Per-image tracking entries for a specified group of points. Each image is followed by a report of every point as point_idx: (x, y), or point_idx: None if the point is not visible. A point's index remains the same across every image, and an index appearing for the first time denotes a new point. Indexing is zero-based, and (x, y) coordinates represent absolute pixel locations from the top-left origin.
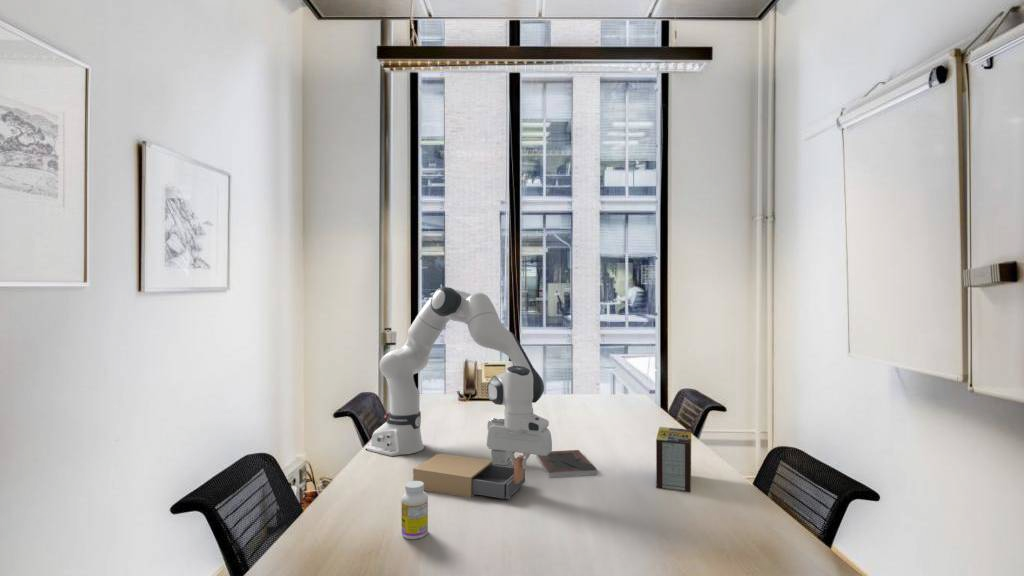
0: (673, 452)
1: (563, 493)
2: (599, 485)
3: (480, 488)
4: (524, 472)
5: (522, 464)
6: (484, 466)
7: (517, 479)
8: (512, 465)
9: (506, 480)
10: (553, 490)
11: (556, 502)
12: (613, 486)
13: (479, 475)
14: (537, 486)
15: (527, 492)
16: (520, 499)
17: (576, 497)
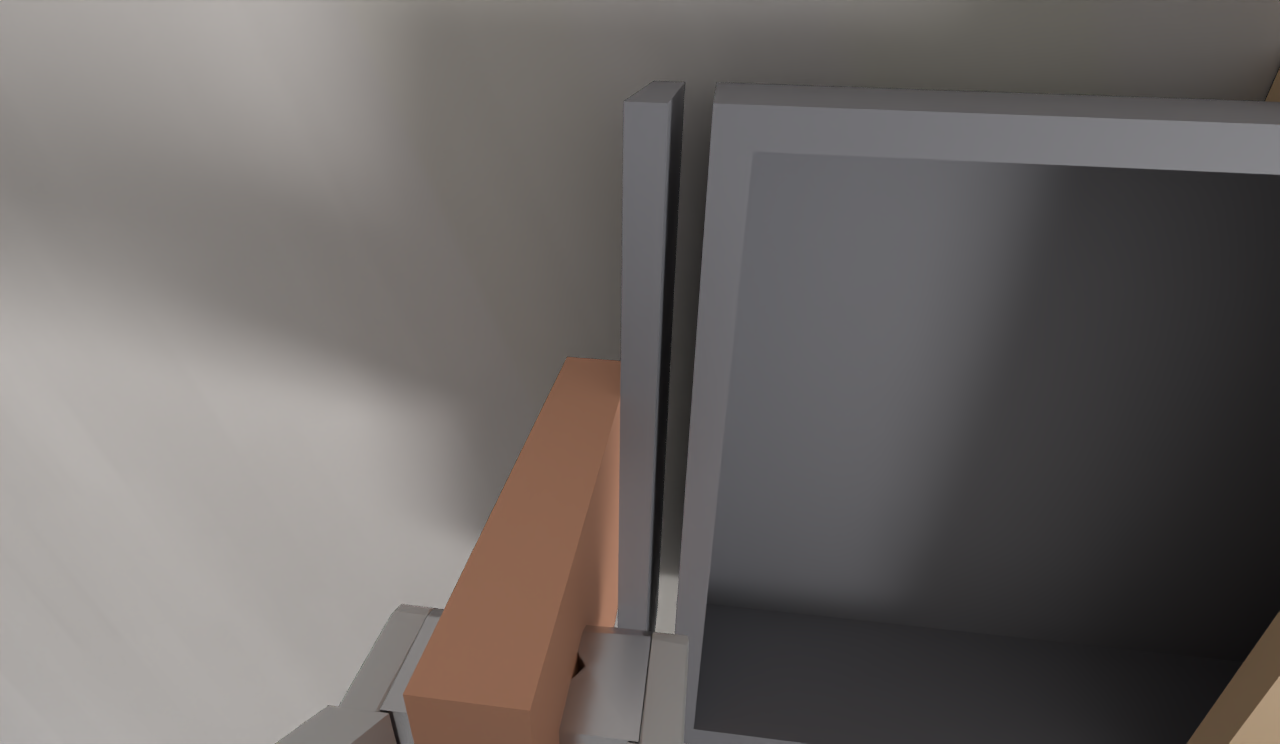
0: None
1: (236, 495)
2: (106, 677)
3: (1208, 107)
4: None
5: (408, 654)
6: (1278, 698)
7: (554, 391)
8: (669, 638)
9: (844, 589)
10: (348, 532)
11: (164, 283)
12: (20, 678)
13: (1218, 649)
14: None
15: None
16: (547, 234)
17: (92, 446)
